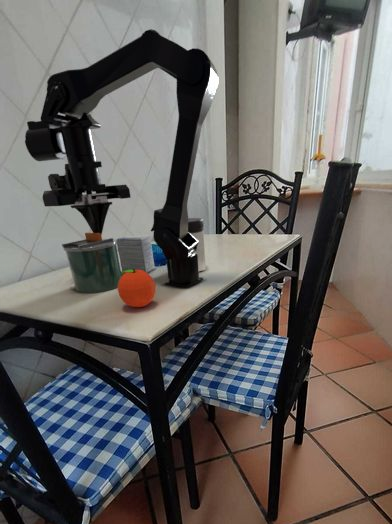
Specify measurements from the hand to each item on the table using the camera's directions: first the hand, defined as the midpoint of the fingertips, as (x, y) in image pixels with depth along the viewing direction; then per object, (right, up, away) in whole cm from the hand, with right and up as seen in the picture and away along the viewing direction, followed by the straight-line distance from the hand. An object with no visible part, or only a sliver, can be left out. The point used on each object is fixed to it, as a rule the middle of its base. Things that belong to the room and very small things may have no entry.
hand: (98, 237), depth 71 cm
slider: (-2, -2, -2) cm, 3 cm away
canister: (-1, -10, +3) cm, 11 cm away
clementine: (+11, -17, -11) cm, 23 cm away
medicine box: (+7, -5, +13) cm, 15 cm away
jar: (+21, -5, +11) cm, 24 cm away
